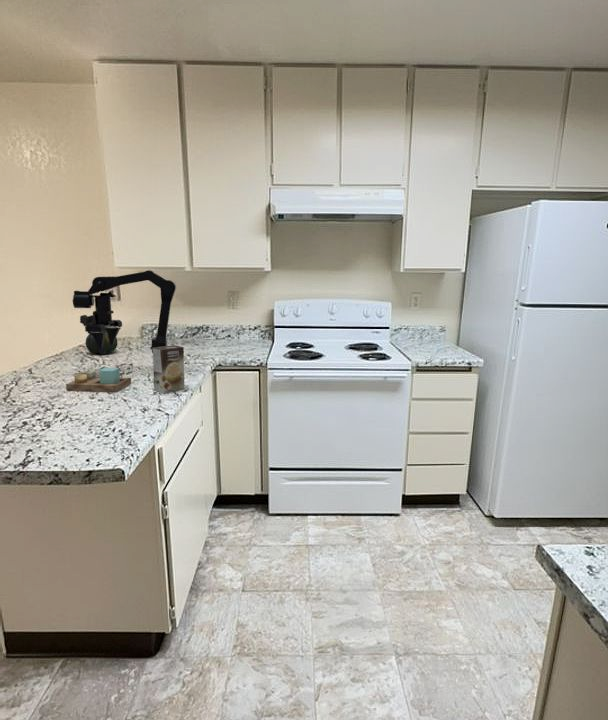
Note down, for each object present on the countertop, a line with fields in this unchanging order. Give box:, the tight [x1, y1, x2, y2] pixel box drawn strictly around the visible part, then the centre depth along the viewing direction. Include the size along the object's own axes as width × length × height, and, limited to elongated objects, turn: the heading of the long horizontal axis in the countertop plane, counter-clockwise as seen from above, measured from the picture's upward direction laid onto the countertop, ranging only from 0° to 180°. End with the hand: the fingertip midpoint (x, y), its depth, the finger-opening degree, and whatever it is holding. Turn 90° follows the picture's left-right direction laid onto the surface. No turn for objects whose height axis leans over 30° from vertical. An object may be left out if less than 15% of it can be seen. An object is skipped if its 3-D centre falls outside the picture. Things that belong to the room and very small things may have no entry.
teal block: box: [98, 367, 121, 384], centre depth 150 cm, size 5×5×6 cm
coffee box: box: [152, 344, 185, 394], centre depth 149 cm, size 9×6×16 cm
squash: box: [85, 330, 118, 356], centre depth 211 cm, size 14×15×15 cm
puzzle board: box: [65, 370, 132, 393], centre depth 150 cm, size 18×12×5 cm, turn 89°
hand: (105, 346), depth 166 cm, fingers open, 9 cm apart
